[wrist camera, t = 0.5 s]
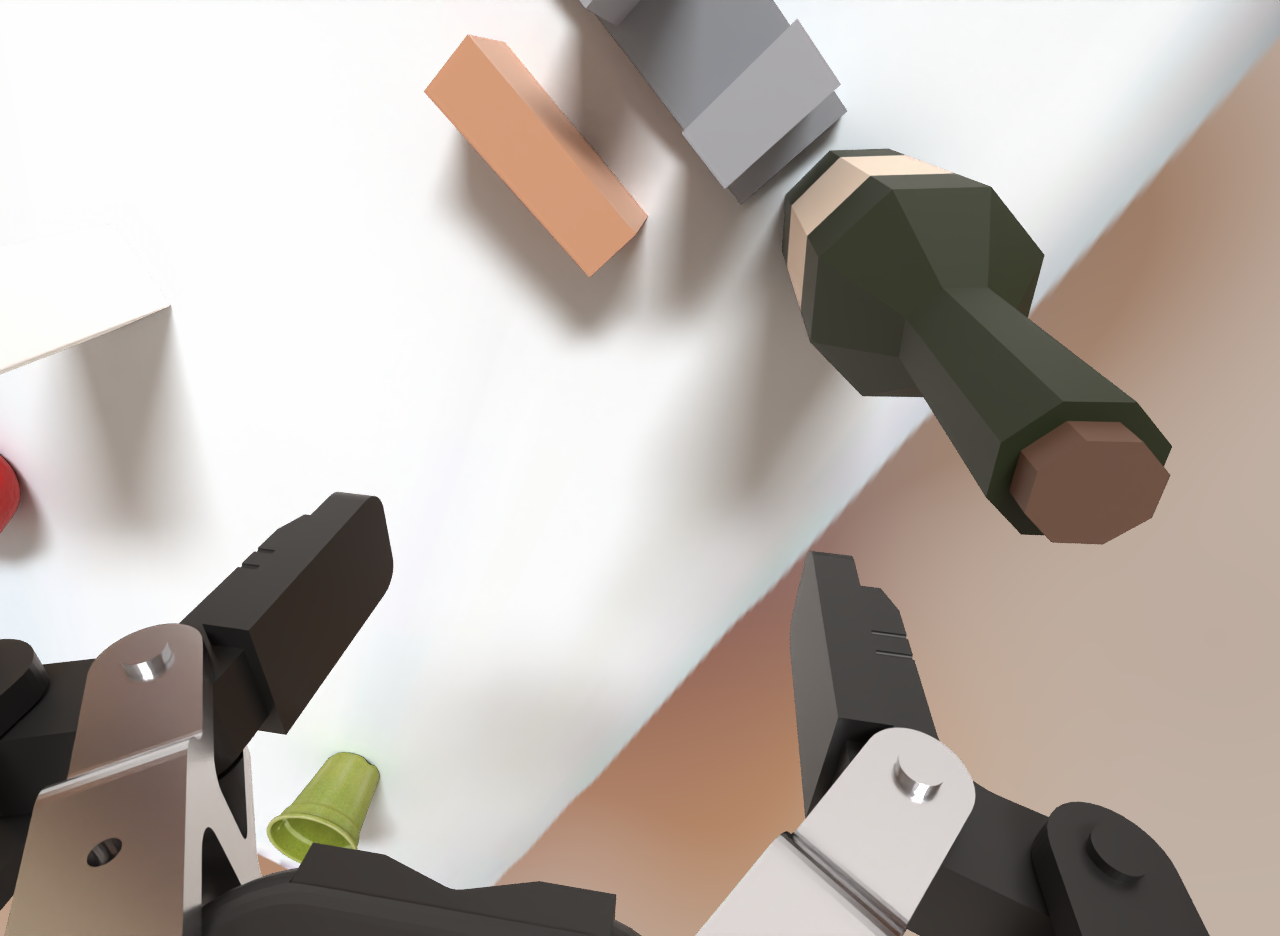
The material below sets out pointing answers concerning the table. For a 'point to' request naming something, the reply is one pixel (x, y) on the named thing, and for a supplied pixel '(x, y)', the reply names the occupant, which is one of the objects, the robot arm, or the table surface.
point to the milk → (69, 293)
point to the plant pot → (327, 808)
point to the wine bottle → (966, 340)
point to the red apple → (8, 493)
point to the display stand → (729, 80)
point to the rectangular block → (536, 150)
